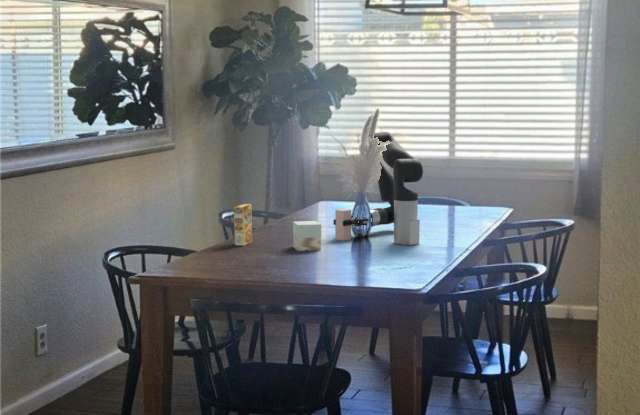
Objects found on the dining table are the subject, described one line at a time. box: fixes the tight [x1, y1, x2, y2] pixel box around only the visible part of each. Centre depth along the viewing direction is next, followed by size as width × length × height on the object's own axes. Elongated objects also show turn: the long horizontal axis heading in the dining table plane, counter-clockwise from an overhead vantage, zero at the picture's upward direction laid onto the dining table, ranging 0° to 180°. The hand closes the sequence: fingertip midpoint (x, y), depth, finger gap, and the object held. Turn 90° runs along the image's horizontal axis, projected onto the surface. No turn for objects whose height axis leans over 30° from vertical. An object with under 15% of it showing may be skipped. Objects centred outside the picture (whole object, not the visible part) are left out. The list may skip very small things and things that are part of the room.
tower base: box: [292, 234, 322, 252], centre depth 363 cm, size 9×9×5 cm
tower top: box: [292, 220, 322, 238], centre depth 363 cm, size 9×9×5 cm
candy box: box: [233, 203, 253, 247], centre depth 373 cm, size 9×4×15 cm, turn 163°
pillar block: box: [334, 208, 352, 241], centre depth 383 cm, size 4×4×12 cm
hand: (338, 222), depth 381 cm, fingers closed on pillar block, 4 cm apart
